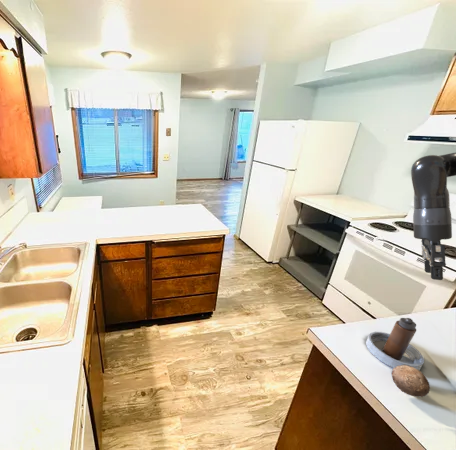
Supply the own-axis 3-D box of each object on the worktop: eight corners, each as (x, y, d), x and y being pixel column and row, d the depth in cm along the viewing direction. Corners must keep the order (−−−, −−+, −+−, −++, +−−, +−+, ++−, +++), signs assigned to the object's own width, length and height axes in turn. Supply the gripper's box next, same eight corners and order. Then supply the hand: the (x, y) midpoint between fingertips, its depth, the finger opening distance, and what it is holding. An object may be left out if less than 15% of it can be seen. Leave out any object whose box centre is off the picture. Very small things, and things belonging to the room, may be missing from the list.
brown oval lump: (393, 357, 74) (408, 358, 68) (422, 380, 70) (441, 383, 65) (379, 377, 72) (394, 379, 67) (408, 402, 69) (426, 407, 63)
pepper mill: (396, 350, 80) (414, 315, 75) (404, 361, 76) (424, 325, 71) (379, 346, 82) (396, 311, 76) (386, 357, 78) (405, 321, 72)
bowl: (403, 345, 83) (407, 337, 82) (430, 379, 72) (435, 371, 70) (358, 335, 87) (361, 327, 86) (376, 366, 75) (380, 358, 74)
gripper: (459, 224, 64) (460, 283, 64) (444, 220, 75) (445, 271, 75) (417, 225, 69) (419, 280, 69) (409, 221, 79) (411, 269, 80)
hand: (433, 275), depth 72 cm, fingers open, 8 cm apart
